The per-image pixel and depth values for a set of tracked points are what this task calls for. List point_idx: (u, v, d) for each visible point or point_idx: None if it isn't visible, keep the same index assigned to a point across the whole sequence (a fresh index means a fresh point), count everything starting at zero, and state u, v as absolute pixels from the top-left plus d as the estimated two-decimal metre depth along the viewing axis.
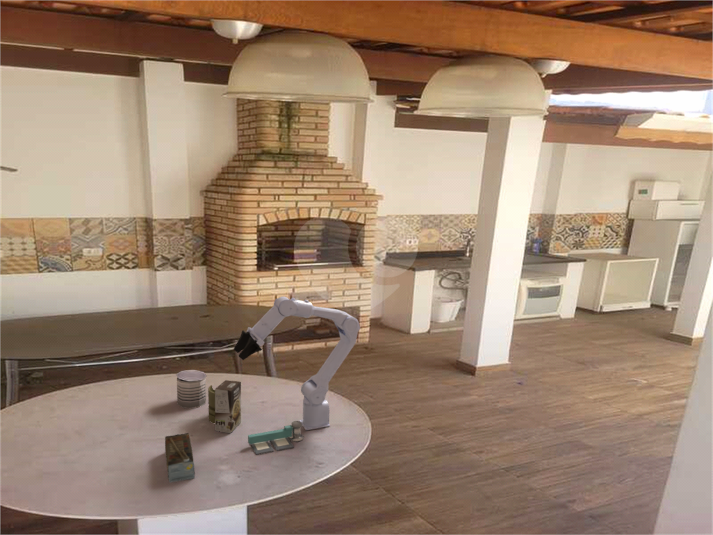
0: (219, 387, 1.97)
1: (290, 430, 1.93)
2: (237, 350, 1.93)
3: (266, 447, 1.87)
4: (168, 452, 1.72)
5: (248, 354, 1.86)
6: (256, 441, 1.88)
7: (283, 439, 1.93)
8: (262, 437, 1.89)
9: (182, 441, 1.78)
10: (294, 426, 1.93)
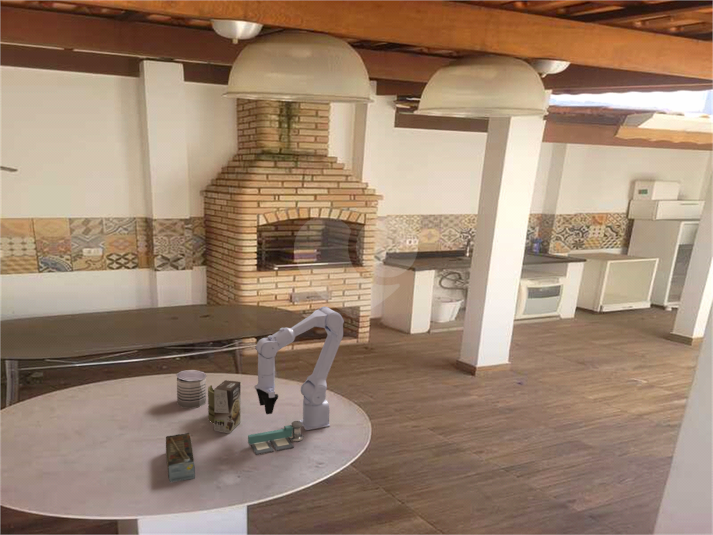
0: (218, 387, 1.97)
1: (290, 430, 1.93)
2: (264, 403, 1.99)
3: (266, 447, 1.87)
4: (169, 452, 1.73)
5: (272, 406, 1.92)
6: (256, 441, 1.88)
7: (283, 439, 1.93)
8: (262, 437, 1.89)
9: (182, 441, 1.78)
10: (294, 426, 1.93)
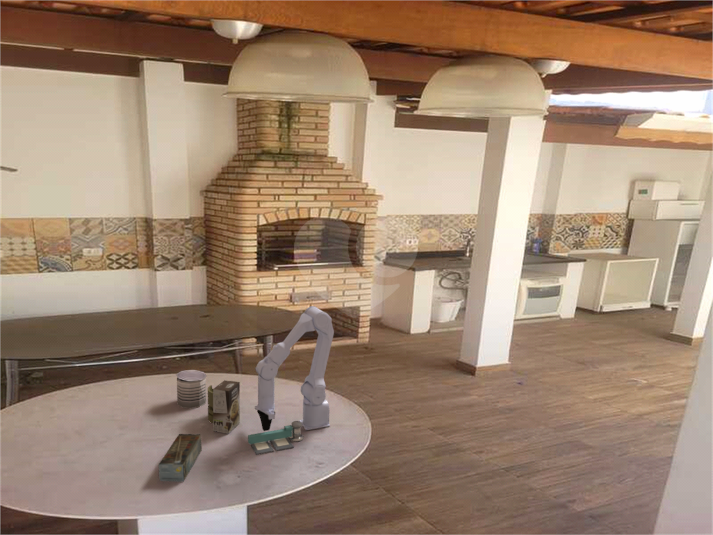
0: (217, 387, 1.97)
1: (290, 430, 1.93)
2: None
3: (266, 447, 1.87)
4: (169, 450, 1.74)
5: (269, 423, 1.97)
6: (256, 441, 1.88)
7: (283, 439, 1.93)
8: (262, 437, 1.89)
9: (187, 442, 1.78)
10: (294, 426, 1.93)
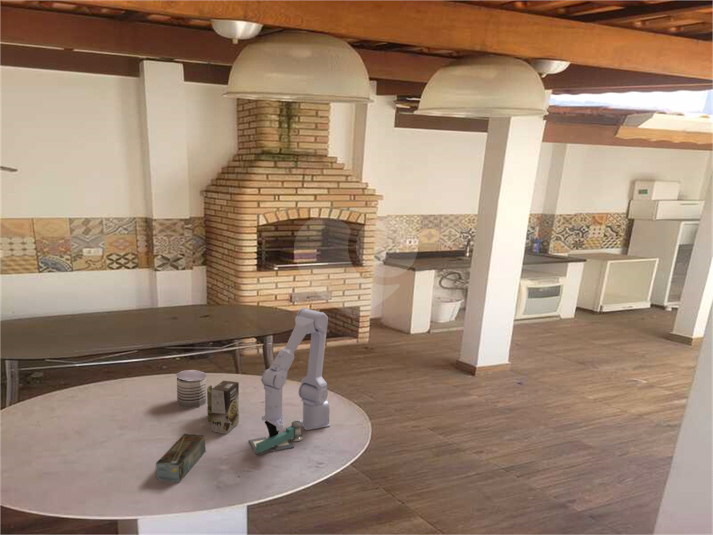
0: (216, 387, 1.97)
1: (292, 431, 1.92)
2: None
3: None
4: (169, 450, 1.74)
5: (276, 433, 1.90)
6: (265, 448, 1.84)
7: None
8: (270, 443, 1.85)
9: (189, 442, 1.78)
10: (296, 426, 1.93)
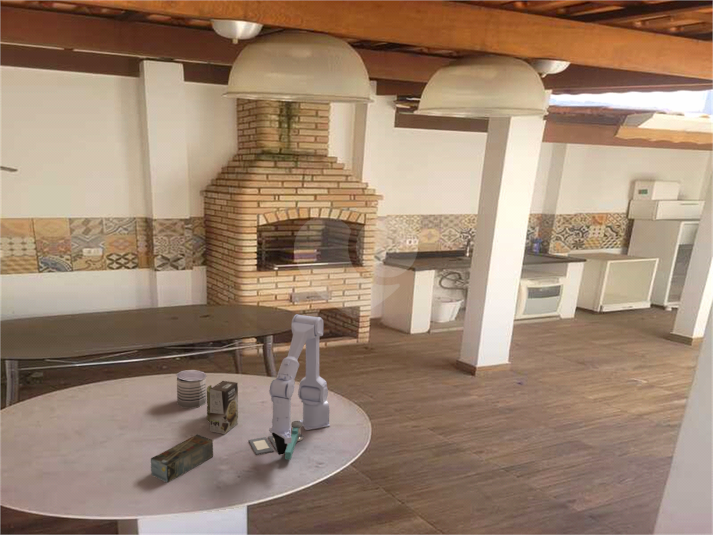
0: (214, 387, 1.97)
1: (297, 431, 1.92)
2: (282, 452, 1.82)
3: (266, 447, 1.87)
4: (171, 448, 1.75)
5: (284, 446, 1.81)
6: (291, 454, 1.81)
7: None
8: (293, 447, 1.83)
9: (193, 444, 1.77)
10: (299, 426, 1.93)
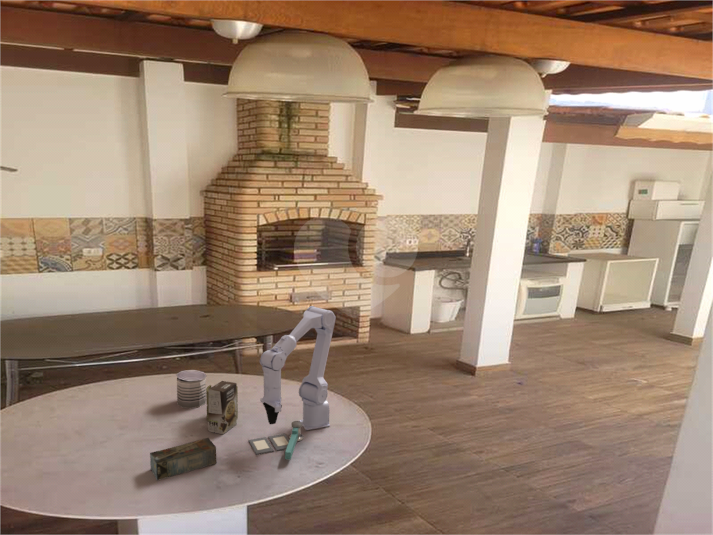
0: (213, 387, 1.97)
1: (297, 431, 1.92)
2: None
3: (266, 447, 1.87)
4: (175, 446, 1.76)
5: (275, 416, 1.89)
6: (291, 454, 1.81)
7: (283, 439, 1.93)
8: (293, 447, 1.83)
9: (194, 447, 1.75)
10: (299, 426, 1.93)
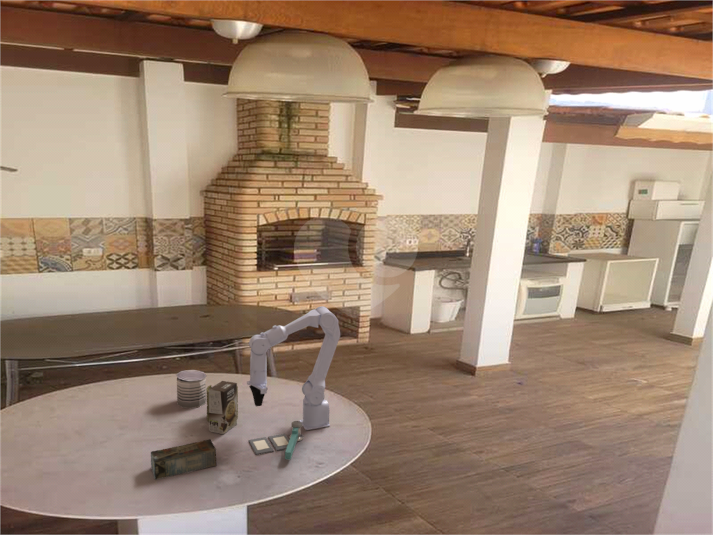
0: (213, 387, 1.97)
1: (297, 431, 1.92)
2: None
3: (266, 447, 1.87)
4: (176, 446, 1.76)
5: (261, 399, 1.97)
6: (291, 454, 1.81)
7: (283, 439, 1.93)
8: (293, 447, 1.83)
9: (194, 448, 1.74)
10: (299, 426, 1.93)
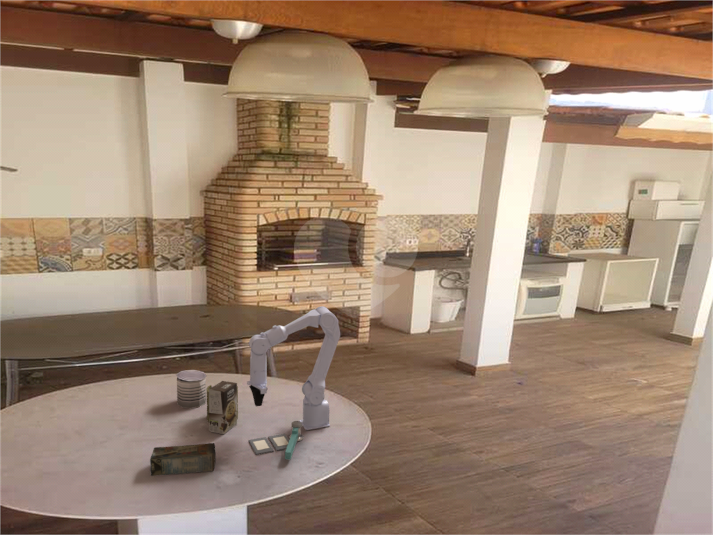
0: (213, 387, 1.97)
1: (297, 431, 1.92)
2: None
3: (266, 447, 1.87)
4: (179, 446, 1.77)
5: (261, 399, 1.97)
6: (291, 454, 1.81)
7: (283, 439, 1.93)
8: (293, 447, 1.83)
9: (193, 450, 1.73)
10: (299, 426, 1.93)
